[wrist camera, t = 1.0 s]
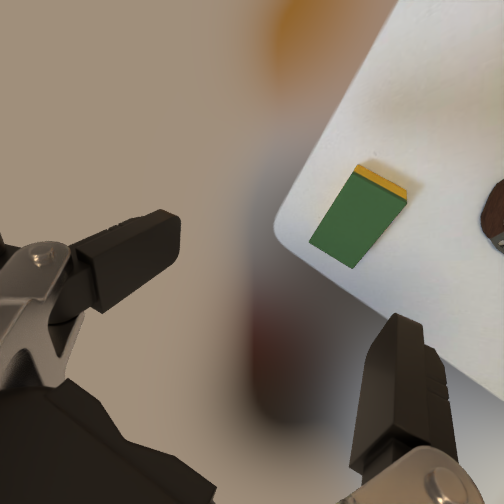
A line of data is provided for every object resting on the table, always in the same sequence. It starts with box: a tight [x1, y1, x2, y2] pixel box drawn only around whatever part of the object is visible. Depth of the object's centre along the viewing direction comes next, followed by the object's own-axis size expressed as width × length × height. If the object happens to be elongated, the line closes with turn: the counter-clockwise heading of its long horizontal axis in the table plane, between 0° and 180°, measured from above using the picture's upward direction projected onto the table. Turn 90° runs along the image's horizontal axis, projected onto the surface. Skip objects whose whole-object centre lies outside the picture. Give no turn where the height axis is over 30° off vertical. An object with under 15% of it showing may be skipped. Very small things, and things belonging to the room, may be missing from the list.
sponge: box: [309, 165, 407, 269], centre depth 24 cm, size 4×7×4 cm, turn 157°
